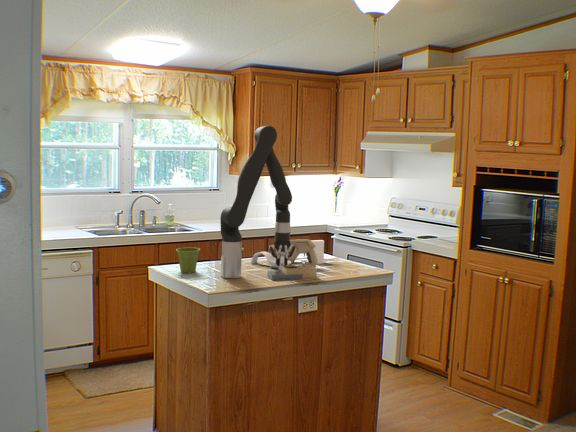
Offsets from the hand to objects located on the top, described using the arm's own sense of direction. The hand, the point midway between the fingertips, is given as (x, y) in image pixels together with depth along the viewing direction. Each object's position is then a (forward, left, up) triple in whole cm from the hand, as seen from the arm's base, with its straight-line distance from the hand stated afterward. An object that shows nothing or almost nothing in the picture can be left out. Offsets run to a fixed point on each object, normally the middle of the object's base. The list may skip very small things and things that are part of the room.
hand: (281, 265), depth 296 cm
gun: (+12, +17, -4) cm, 21 cm away
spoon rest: (-1, +19, -4) cm, 19 cm away
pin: (0, 0, -3) cm, 3 cm away
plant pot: (-45, +11, -4) cm, 46 cm away
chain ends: (+2, -11, -4) cm, 12 cm away
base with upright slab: (+26, +25, -4) cm, 37 cm away
